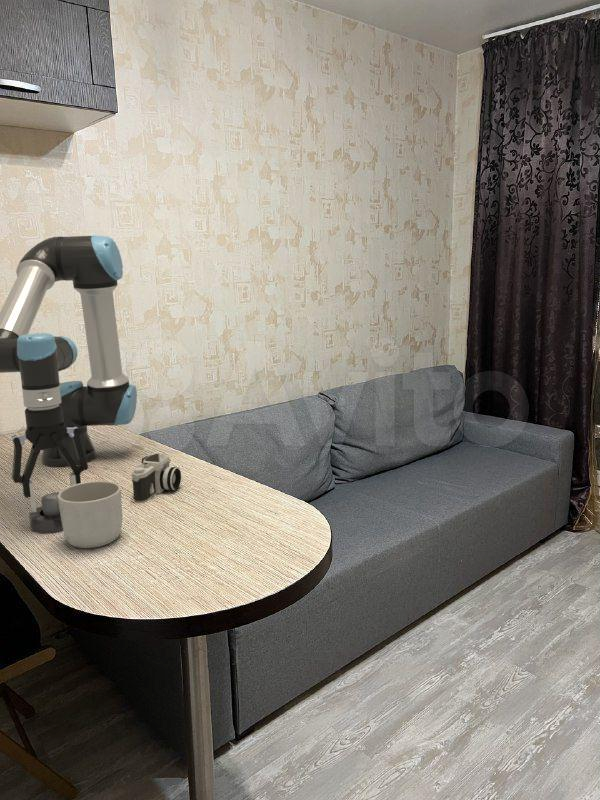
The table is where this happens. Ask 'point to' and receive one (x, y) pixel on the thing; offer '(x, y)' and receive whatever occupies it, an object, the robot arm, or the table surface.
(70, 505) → the planter
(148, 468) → the camera
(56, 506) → the cap
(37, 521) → the grey ring
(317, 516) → the table surface
